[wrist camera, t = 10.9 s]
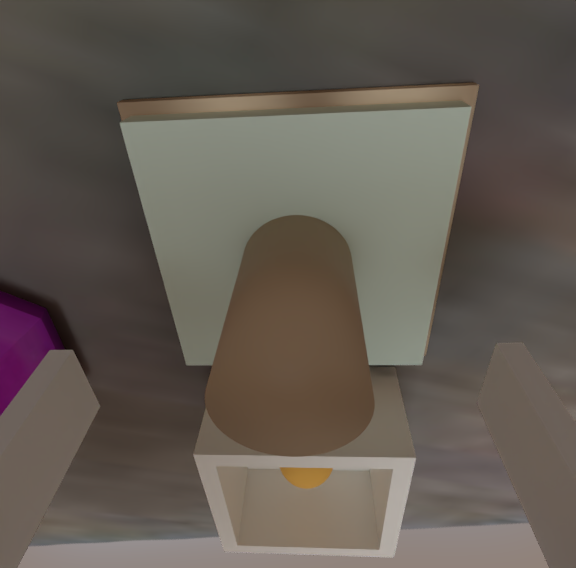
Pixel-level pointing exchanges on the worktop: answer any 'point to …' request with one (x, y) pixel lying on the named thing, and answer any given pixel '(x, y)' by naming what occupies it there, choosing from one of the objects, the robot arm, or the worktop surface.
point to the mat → (316, 99)
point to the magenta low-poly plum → (22, 343)
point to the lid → (299, 254)
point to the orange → (306, 476)
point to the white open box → (319, 500)
